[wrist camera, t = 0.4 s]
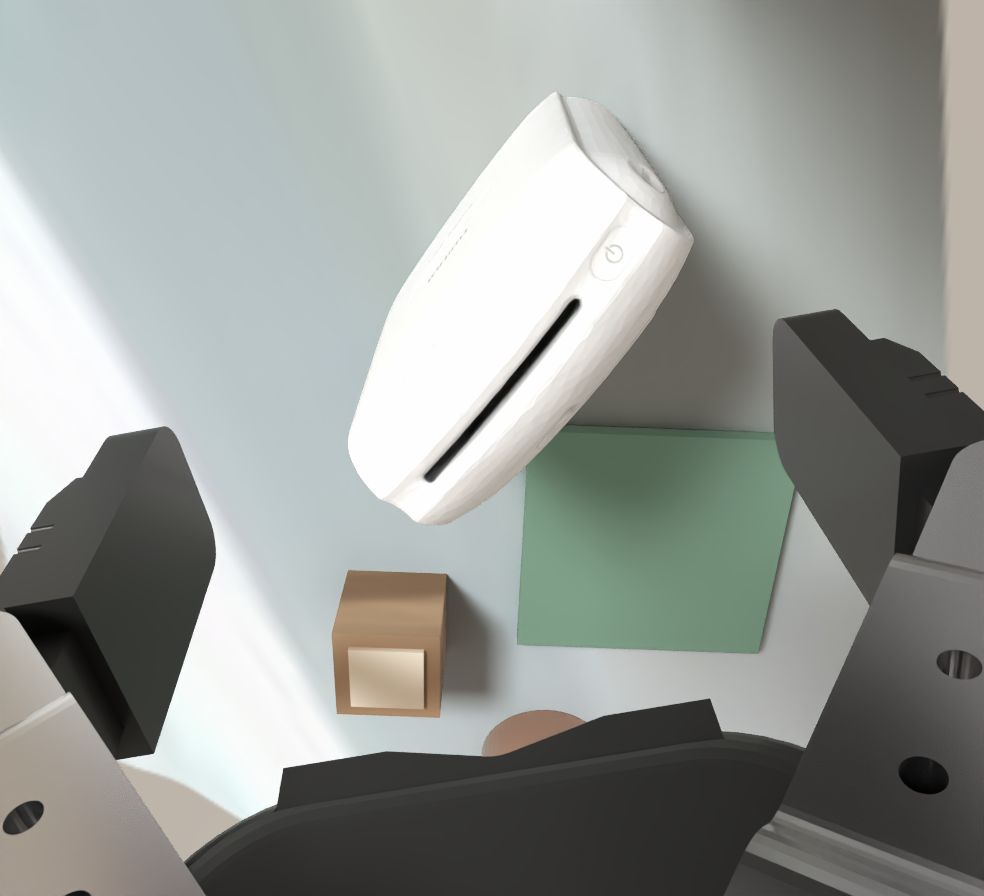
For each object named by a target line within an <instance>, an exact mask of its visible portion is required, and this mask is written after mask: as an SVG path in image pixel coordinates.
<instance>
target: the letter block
mask: <svg viewBox="0 0 984 896" xmlns="http://www.w3.org/2000/svg"><path fill="white" fill-rule="evenodd" d="M446 585H447V574H433V573H406V572H379V571H352V570H348V573H347V577H346V581H345V584H344V588H343V592H342V596H341V600H340V604H339V608H338V611H337V615H336V619H335V623H334V627H333V631H332V645H333V660H334V676H335V691H336V707H337V714H353V715H381V716H408V717H435V718H440V708H441V697H442V686H443V675H444V665H445V654H446Z"/></svg>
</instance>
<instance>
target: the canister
mask: <svg viewBox="0 0 984 896" xmlns="http://www.w3.org/2000/svg"><path fill="white" fill-rule="evenodd" d="M584 723H586V722H584V721H583V720H581V719H579V718H577V717H575V716H573V715H570V714H567V713H563V712H558V711H550V710H537V711H529V712H524V713H521V714H517V715H514V716H512V717H510V718H508V719H506V720H504V721H503V722H501V723H500V724H498V725H497V726H496V727H495V728H494V729H493V730H492V731H491V732H490V733H489V735H488V736H487V738H486V740H485V742H484V745H483V749H482V756H485V757H486V756H498V755H503V754H506V753H509V752H511V751H514V750H517V749H519V748H522V747H524V746H527V745H530V744H532V743H535V742H538V741H540V740H543V739H545V738H548V737H551V736H553V735H556V734H558V733H561V732H564V731H566V730H569V729H571V728H574V727H577V726H579V725H582V724H584Z"/></svg>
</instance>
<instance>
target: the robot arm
mask: <svg viewBox="0 0 984 896" xmlns="http://www.w3.org/2000/svg"><path fill="white" fill-rule="evenodd" d="M773 403H774V434H775V441H776V446H777V450H778V454H779V457H780V460H781V463H782V466H783V468H784V470H785V472H786V473H787V475H788V477H789V478H790V480H791V481H792V483H793V484H794V486H795V488H796V489H797V491H798V492H799V494H800V496H801V497H802V499H803V500H804V502H805V504H806V505H807V507H808V508H809V510H810V511H811V513H812V515H813V516H814V518H815V519H816V521H817V523H818V524H819V526H820V527H821V529H822V531H823V532H824V534H825V535H826V537H827V538H828V540H829V542H830V543H831V545H832V546H833V548H834V550H835V551H836V553H837V554H838V556H839V558H840V559H841V561H842V562H843V564H844V565H845V567H846V569H847V570H848V572H849V573H850V575H851V577H852V578H853V580H854V581H855V583H856V585H857V586H858V588H859V589H860V591H861V592H862V594H863V596H864V597H865V599H866V600H867V602H868V604H869V605H870V607H869V609H868V612H867V614H866V616H865V618H864V621H863V623H862V625H861V627H860V629H859V632H858V634H857V636H856V638H855V641H854V643H853V645H852V647H851V649H850V652H849V654H848V656H847V658H846V661H845V663H844V665H843V667H842V669H841V672H840V674H839V676H838V678H837V681H836V683H835V685H834V687H833V689H832V692H831V694H830V696H829V698H828V701H827V703H826V705H825V707H824V709H823V712H822V714H821V716H820V718H819V721H818V723H817V725H816V727H815V729H814V732H813V734H812V736H811V738H810V741H809V743H808V745H807V747H806V748H803V747H800V746H798V745H795V744H792V743H788V742H784V741H780V740H776V739H772V738H768V737H764V736H758V735H752V734H745V733H739V732H723V731H721V729H720V726H719V723H718V720H717V717H716V714H715V712H714V709H713V706H712V703H711V700H710V699H704V700H698V701H692V702H686V703H680V704H674V705H668V706H662V707H656V708H650V709H643V710H637V711H631V712H625V713H619V714H613V715H607V716H603V717H600V718H597V719H595V720H592V721H590V722H587V723H584V724H582V725H579V726H577V727H574V728H571V729H569V730H566V731H564V732H561V733H558V734H556V735H553V736H551V737H548V738H545V739H543V740H540V741H538V742H535V743H532V744H530V745H527V746H524V747H522V748H519V749H517V750H514V751H511V752H509V753H506V754H503V755H498V756H486V757H485V756H465V755H446V754H426V753H407V752H381V753H375V754H368V755H362V756H356V757H350V758H344V759H338V760H332V761H326V762H320V763H313V764H307V765H301V766H295V767H289V768H283V774H282V780H281V786H280V792H279V798H278V804H277V805H274V806H272V807H269V808H267V809H264V810H262V811H260V812H258V813H256V814H254V815H252V816H250V817H248V818H246V819H244V820H242V821H240V822H239V823H237V824H235V825H234V826H232V827H231V828H229V829H227V830H226V831H224V832H222V833H221V834H219V835H218V836H216V837H215V838H214V839H213V840H211V841H210V842H208V843H207V844H205V845H204V846H203V847H201V848H200V849H199V850H197V851H196V852H195V853H194V854H193V855H191V856H190V857H189V858H188V859H187V860H186V861H185V862H183V860H182V859H181V858H180V857H179V855H178V853H177V851H176V850H175V848H173V845H172V844H171V842H170V841H169V839H168V838H167V837H166V835H165V834H164V832H163V830H162V829H161V827H160V826H159V824H158V823H157V821H156V820H155V818H154V817H153V816H152V814H151V812H150V811H149V809H148V808H147V806H146V805H145V803H144V802H143V801H142V799H141V797H140V796H139V794H138V793H137V792H136V790H135V789H134V787H133V786H132V784H131V783H130V781H129V780H128V778H127V776H126V775H125V774H124V772H123V770H122V769H121V767H120V766H119V764H118V763H117V761H116V760H119V759H125V758H131V757H137V756H143V755H149V754H154V752H155V749H156V746H157V742H158V739H159V736H160V733H161V730H162V727H163V724H164V721H165V718H166V715H167V712H168V709H169V705H170V702H171V699H172V696H173V693H174V690H175V687H176V684H177V681H178V678H179V675H180V672H181V668H182V665H183V662H184V659H185V656H186V653H187V650H188V647H189V644H190V641H191V638H192V634H193V631H194V628H195V625H196V622H197V619H198V616H199V613H200V610H201V607H202V604H203V601H204V597H205V594H206V591H207V588H208V585H209V582H210V579H211V576H212V573H213V570H214V566H215V558H216V548H215V538H214V533H213V529H212V525H211V522H210V519H209V517H208V514H207V511H206V509H205V506H204V504H203V501H202V499H201V496H200V494H199V491H198V489H197V486H196V484H195V481H194V478H193V476H192V473H191V471H190V468H189V466H188V463H187V461H186V458H185V456H184V453H183V451H182V448H181V445H180V443H179V441H178V439H177V437H176V435H175V434H174V433H173V431H172V430H171V429H169V428H168V427H165V426H164V427H159V428H153V429H147V430H142V431H136V432H130V433H125V434H119V435H113V436H109V437H108V438H107V439H106V440H105V442H104V443H103V445H102V446H101V448H100V450H99V451H98V453H97V455H96V456H95V458H94V460H93V461H92V463H91V465H90V466H89V468H88V470H87V471H86V473H85V475H84V476H83V477H82V478H76V479H75V480H74V481H72V482H71V483H70V484H69V485H68V486H66V487H65V488H64V489H63V490H62V491H61V492H59V493H58V494H57V495H56V496H55V497H53V498H52V499H51V500H50V501H49V502H47V503H46V505H45V506H44V508H43V510H42V511H41V513H40V514H39V516H38V517H37V519H36V521H35V522H34V524H33V525H32V527H31V528H30V529H31V533H27V535H26V536H25V538H24V539H23V541H22V542H21V544H20V546H19V547H18V549H17V550H18V554H14V555H13V557H12V558H11V560H10V561H9V563H8V564H7V566H6V567H5V569H4V571H3V572H2V574H1V575H0V896H984V411H983V410H982V409H981V408H980V407H979V406H978V405H977V404H975V403H974V402H973V401H972V400H971V399H970V398H969V397H968V396H967V395H966V394H965V393H963V392H961V393H959V390H958V387H957V386H956V385H955V384H954V383H952V382H951V381H950V380H949V379H948V378H947V377H946V376H941V372H940V371H939V370H938V369H937V368H936V367H935V366H934V365H933V364H932V363H931V362H929V361H928V360H927V359H926V358H925V357H924V356H923V355H922V354H921V353H920V352H918V351H915V350H913V349H910V348H908V347H905V346H903V345H900V344H898V343H895V342H893V341H890V340H888V339H885V338H882V339H876V340H869V339H868V338H867V337H866V336H865V335H864V334H863V333H862V332H861V331H860V330H859V329H858V328H857V327H856V326H855V325H854V324H853V323H852V322H851V321H850V320H849V319H848V318H847V317H846V316H845V315H844V314H843V313H842V312H840V311H839V310H837V309H833V310H827V311H821V312H816V313H810V314H805V315H799V316H793V317H788V318H782V319H778V320H777V321H776V323H775V326H774V330H773Z"/></svg>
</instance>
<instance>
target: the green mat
mask: <svg viewBox="0 0 984 896" xmlns="http://www.w3.org/2000/svg"><path fill="white" fill-rule="evenodd" d="M794 487H795V486H794V484H793V483H792V481H791V480H790V478H789V477H788V475H787V473H786V472H785V470H784V468H783V466H782V463H781V460H780V457H779V454H778V450H777V446H776V441H775V434H774V433H767V432H740V431H713V430H685V429H658V428H631V427H604V426H577V425H565V426H564V427H563V428H562V429H561V430H560V431H559V432H558V433H557V434H556V435H555V436H554V437H553V439H552V440H551V441H550V442H549V443H548V444H547V445H546V446H545V447H544V448H543V449H542V450H541V451H540V452H539V453H538V454H537V455H536V456H535V457H534V458H533V459H532V460H531V461H530V462H529V463H528V464H527V473H526V491H525V508H524V525H523V543H522V560H521V577H520V595H519V612H518V630H517V645H538V646H565V647H592V648H619V649H646V650H673V651H700V652H727V653H754V654H758V651H759V647H760V642H761V638H762V633H763V629H764V624H765V620H766V615H767V610H768V606H769V601H770V597H771V592H772V588H773V583H774V578H775V574H776V569H777V565H778V560H779V556H780V551H781V546H782V542H783V537H784V533H785V528H786V524H787V519H788V515H789V510H790V505H791V501H792V496H793V492H794Z"/></svg>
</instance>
